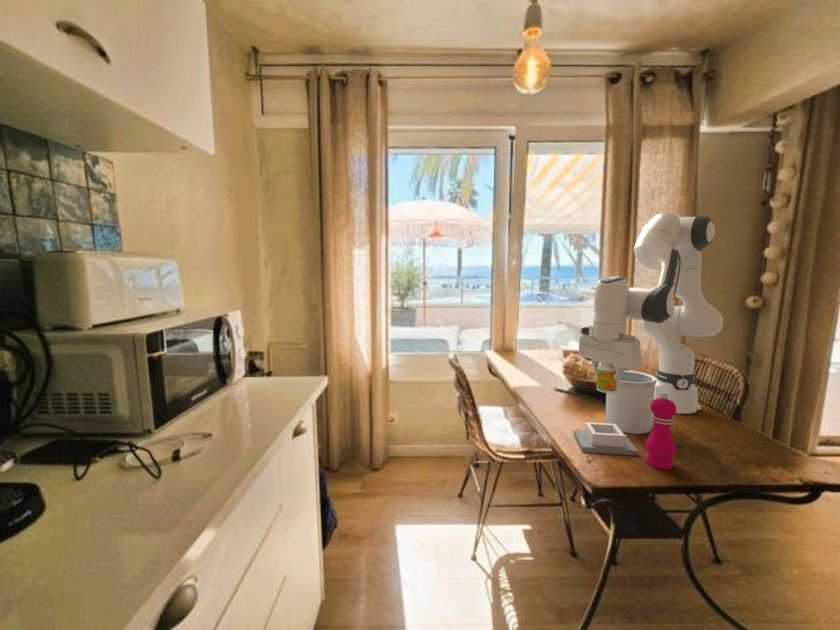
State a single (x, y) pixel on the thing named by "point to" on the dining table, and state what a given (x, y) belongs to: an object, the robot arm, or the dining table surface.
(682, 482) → the dining table surface
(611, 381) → the supplement bottle
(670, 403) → the pepper mill
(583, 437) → the docking board
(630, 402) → the utensil holder
